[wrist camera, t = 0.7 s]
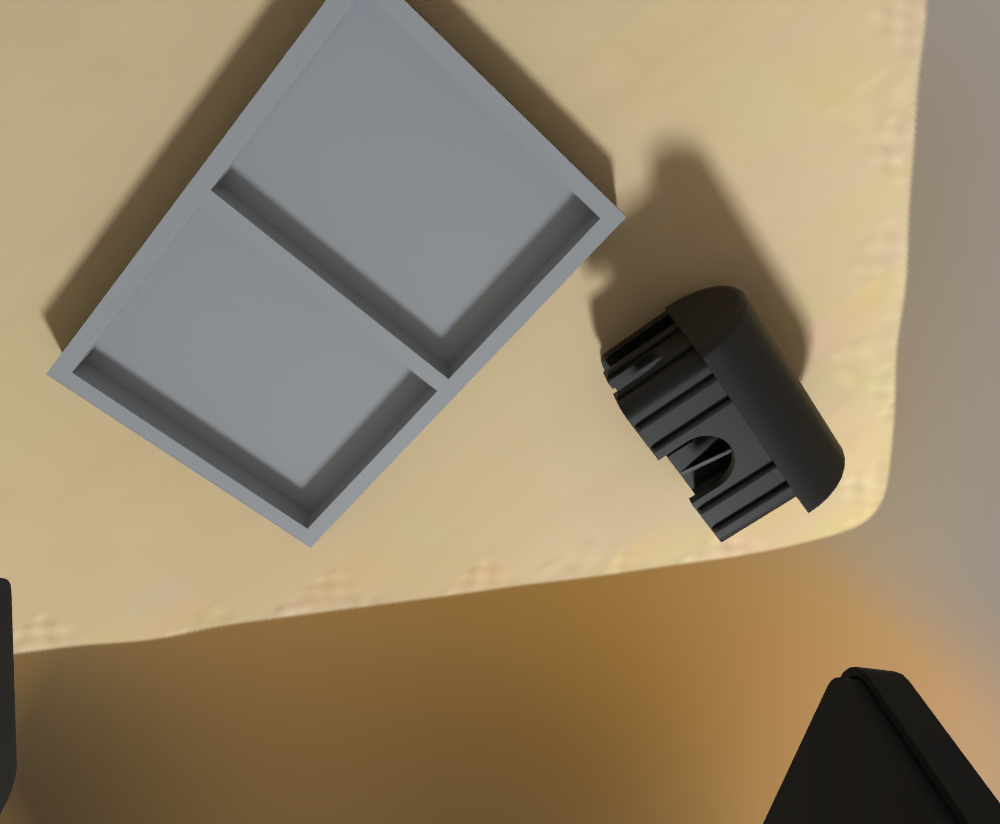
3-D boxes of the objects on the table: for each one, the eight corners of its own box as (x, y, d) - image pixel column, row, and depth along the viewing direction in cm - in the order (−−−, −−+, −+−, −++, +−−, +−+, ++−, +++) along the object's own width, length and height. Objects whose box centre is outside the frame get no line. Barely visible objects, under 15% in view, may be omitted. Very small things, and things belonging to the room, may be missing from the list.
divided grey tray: (363, -41, 33) (359, -44, 31) (617, 207, 38) (626, 216, 36) (64, 357, 39) (46, 374, 37) (315, 525, 44) (310, 547, 42)
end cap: (809, 413, 43) (870, 478, 37) (693, 487, 45) (734, 561, 38) (714, 264, 39) (765, 310, 33) (591, 350, 41) (618, 409, 35)
